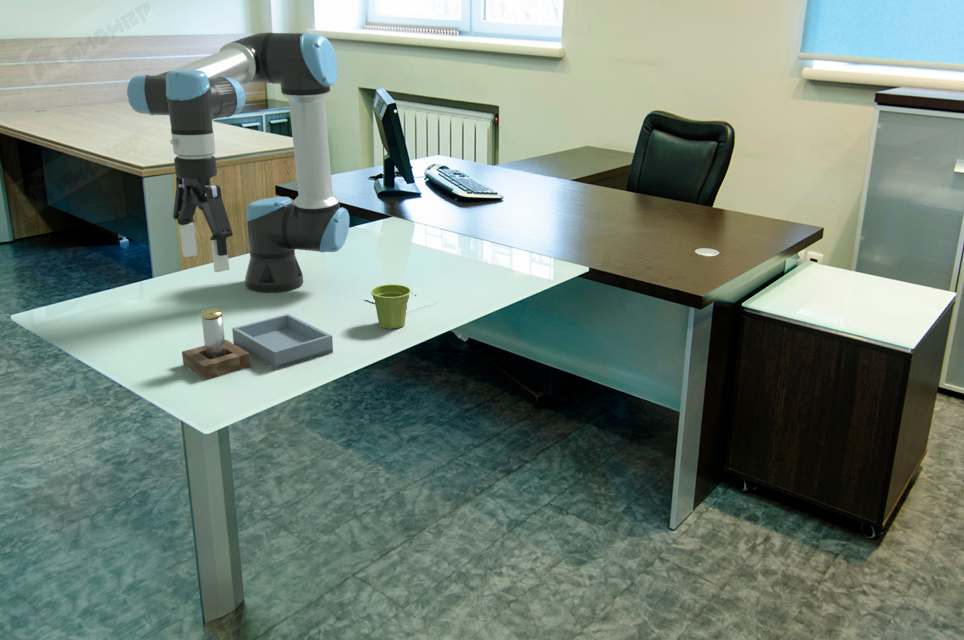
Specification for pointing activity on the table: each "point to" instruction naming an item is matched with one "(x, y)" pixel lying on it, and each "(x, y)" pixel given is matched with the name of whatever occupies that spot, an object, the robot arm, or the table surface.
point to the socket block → (216, 361)
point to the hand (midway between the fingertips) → (205, 263)
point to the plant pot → (391, 304)
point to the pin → (213, 333)
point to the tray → (282, 341)
